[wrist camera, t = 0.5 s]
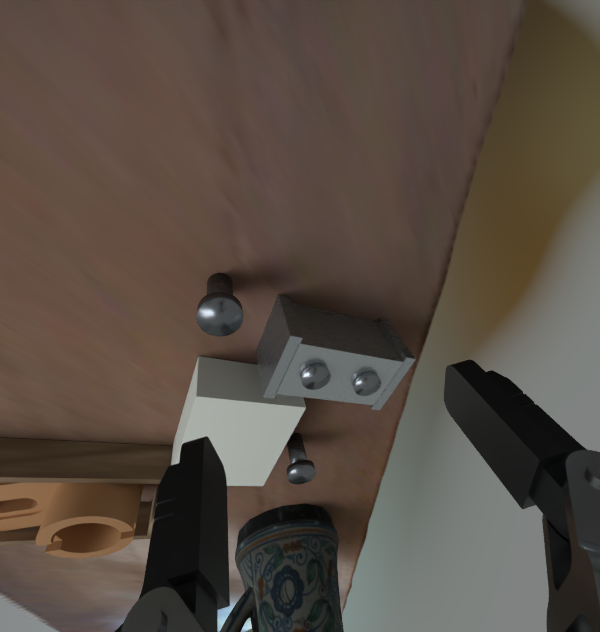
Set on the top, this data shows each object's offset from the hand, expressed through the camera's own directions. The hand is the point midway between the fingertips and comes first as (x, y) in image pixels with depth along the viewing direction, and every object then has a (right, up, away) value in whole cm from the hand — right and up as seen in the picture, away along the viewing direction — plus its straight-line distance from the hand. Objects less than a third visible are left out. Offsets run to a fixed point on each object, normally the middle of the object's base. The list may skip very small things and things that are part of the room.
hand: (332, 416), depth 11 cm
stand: (-8, -7, +26) cm, 28 cm away
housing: (+1, +1, +22) cm, 22 cm away
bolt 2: (-2, -12, +31) cm, 33 cm away
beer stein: (-5, -32, +45) cm, 55 cm away
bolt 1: (-8, +6, +17) cm, 19 cm away
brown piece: (-28, -14, +26) cm, 41 cm away
